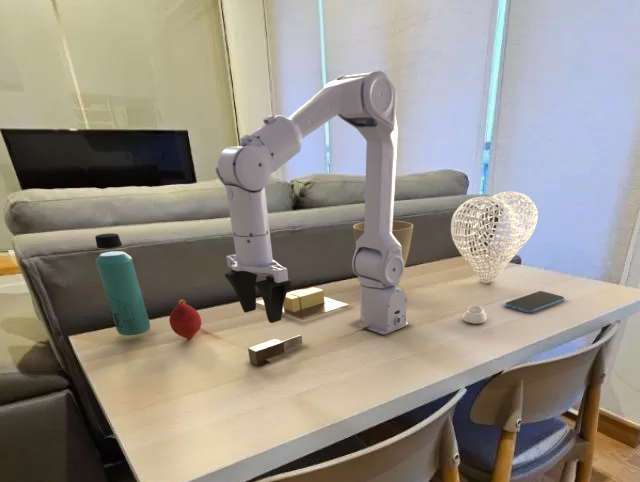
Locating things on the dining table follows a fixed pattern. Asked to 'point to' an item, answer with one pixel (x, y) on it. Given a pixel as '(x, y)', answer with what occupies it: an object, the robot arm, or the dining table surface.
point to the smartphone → (534, 301)
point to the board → (312, 308)
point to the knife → (271, 350)
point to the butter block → (310, 297)
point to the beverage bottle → (121, 287)
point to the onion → (185, 320)
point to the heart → (477, 216)
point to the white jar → (475, 315)
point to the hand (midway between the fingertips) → (262, 316)
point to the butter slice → (291, 303)
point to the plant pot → (399, 231)
